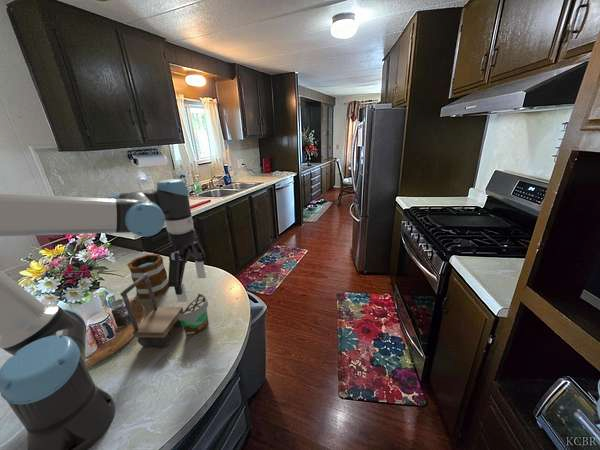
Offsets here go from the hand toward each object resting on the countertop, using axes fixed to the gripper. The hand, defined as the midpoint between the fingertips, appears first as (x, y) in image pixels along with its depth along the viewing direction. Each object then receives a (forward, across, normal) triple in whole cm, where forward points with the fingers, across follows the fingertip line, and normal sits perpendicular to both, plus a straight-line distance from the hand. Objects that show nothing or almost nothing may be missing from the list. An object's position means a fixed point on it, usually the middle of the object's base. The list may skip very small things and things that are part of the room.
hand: (193, 288), depth 82 cm
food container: (+16, 0, 0) cm, 16 cm away
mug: (+16, +25, +34) cm, 45 cm away
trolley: (+16, -4, +12) cm, 21 cm away
